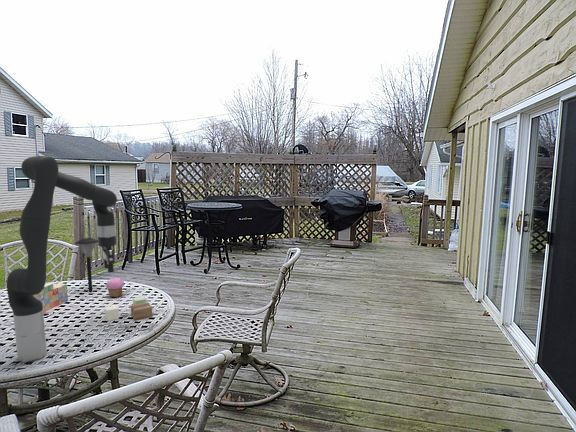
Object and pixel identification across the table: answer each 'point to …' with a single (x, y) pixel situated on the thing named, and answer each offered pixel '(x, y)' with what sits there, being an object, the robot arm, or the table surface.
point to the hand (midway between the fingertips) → (109, 270)
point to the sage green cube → (139, 300)
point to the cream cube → (111, 313)
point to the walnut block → (141, 311)
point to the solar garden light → (88, 255)
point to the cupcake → (115, 287)
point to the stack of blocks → (52, 295)
